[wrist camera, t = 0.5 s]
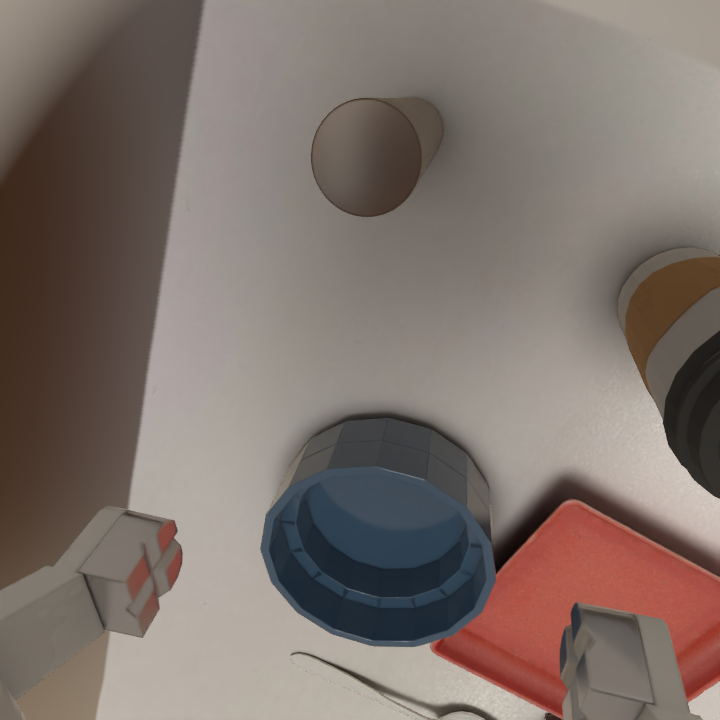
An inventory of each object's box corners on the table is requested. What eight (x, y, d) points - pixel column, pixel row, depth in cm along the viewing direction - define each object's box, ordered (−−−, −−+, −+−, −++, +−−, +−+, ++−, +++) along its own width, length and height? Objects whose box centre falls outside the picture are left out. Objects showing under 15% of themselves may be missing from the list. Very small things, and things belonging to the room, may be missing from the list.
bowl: (251, 463, 43) (217, 519, 37) (422, 377, 38) (413, 429, 32) (359, 598, 47) (344, 668, 41) (527, 539, 42) (537, 611, 36)
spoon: (495, 745, 52) (496, 763, 51) (285, 668, 53) (280, 685, 51) (513, 719, 50) (514, 738, 49) (295, 641, 51) (290, 657, 49)
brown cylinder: (370, 121, 31) (289, 142, 17) (422, 83, 30) (382, 72, 16) (402, 175, 32) (350, 237, 18) (454, 141, 31) (443, 178, 17)
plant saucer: (781, 587, 40) (806, 626, 37) (612, 712, 48) (622, 753, 45) (562, 465, 38) (569, 496, 36) (427, 614, 47) (424, 650, 44)
